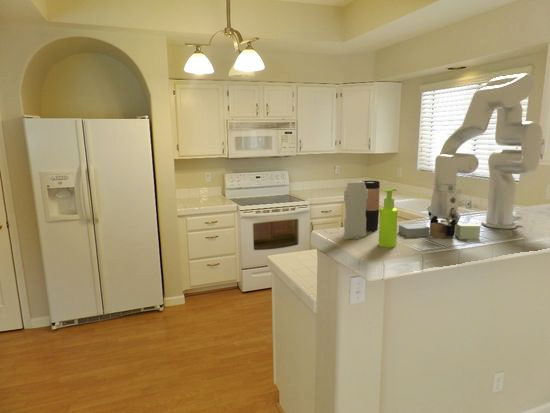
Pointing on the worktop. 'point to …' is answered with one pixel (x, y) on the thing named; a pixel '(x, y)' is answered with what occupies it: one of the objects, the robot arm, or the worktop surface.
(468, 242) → the worktop surface
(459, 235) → the sage block
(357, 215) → the beige tall block
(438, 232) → the walnut block
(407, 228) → the slate block
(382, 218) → the soap dispenser
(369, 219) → the travel mug
